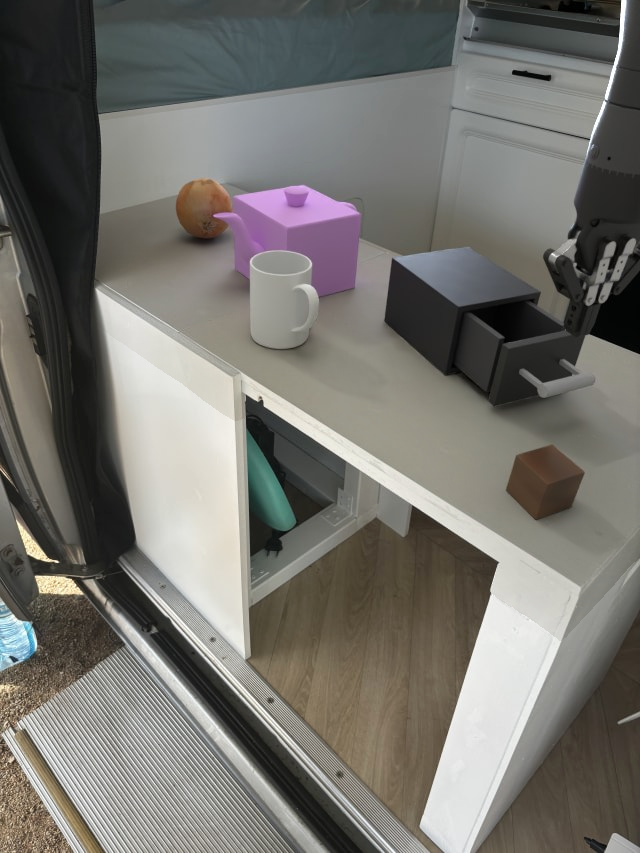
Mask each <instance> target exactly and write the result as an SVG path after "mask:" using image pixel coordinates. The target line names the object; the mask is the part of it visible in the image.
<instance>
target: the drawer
mask: <svg viewBox="0 0 640 853" xmlns="http://www.w3.org/2000/svg"><path fill="white" fill-rule="evenodd" d="M586 336H587V335H585V336H580V337H575V336H573V335H572V334H570V333H569V332H567V331H566V330H565V327H564V321H562V320H560V319H559V318H557V317H555V316H554V315H553V314H551V313H549V312H548V311H546V310H545V309H543V308H542V307H540V306H538V305H535V304H534V303H532V302H531V301H529V300H524V301H518V302H513V303H507V304H502V305H497V306H491V307H486V308H481V309H475V310H470V311H465V312H463V313H462V318H461V323H460V327H459V332H458V337H457V342H456V347H455V352H454V357H453V362H452V363H453V364H454V365H455V366H456V367H458V368H459V369H460V370H461V371H462V373H463V374H465V376H467V377H468V378H469V379H470V380H472V381H473V383H475V384H476V385H477V386H479V387H480V388H481V390H483V391H484V392H485V393H489V397H488V400H487V401H488V403H489V404H490V405H491V406H493V407H499V406H502V405H506V404H509V403H513V402H518V401H521V400H522V401H523V400H525V399H529V398H534V397H536V396H539V397H540V398H543V399H545V398H546V399H547V398H549V397H553V396H558V395H561V394H565V393H569V392H572V391H576V390H580V389H585V388H587V387H592V386H594V385H595V383H596V376H595V374H594V373H593V372H591V371H586V372H585V371H582V370H581V369H579V368H578V367H577V366H576V365H577V361H578V359H579V356H580V353H581V350H582V348H583V344H584V341H585V339H586Z"/></svg>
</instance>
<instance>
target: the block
mask: <svg viewBox="0 0 640 853" xmlns="http://www.w3.org/2000/svg"><path fill="white" fill-rule="evenodd" d="M514 458H515V459H514V461H513V465H512V468H511V471H510V474H509V477H508V480H507V484H506V487H505V491H506V492H507V493H508V494H509V495H510V496H511V497H512V498H513V499H514V500H515V501H516V502H517V503H518V504H519V505H520V506H521V507H522V508H523V509H524V510H525V511H526V512H527V513H528V514H529V515H530V516H531V517H532V518H533V519H534V520H539V519H541V518H545V517H547V516H550V515H554V514H556V513H559V512H562V511H565V510H567V509H570V508H572V507H573V504H574V502H575V499H576V497H577V494H578V492H579V489H580V487H581V484H582V482H583V479H584V476H585V474H586V472H585V471H584V470H583V469H582V468H581V467H580V466H578V465H577V464H576V463H575V462H574V461H573V460H572V459H570V458H569V457H568V456H567V455H566V454H564V453H563V451H561V450H560V449H558V447H556V446H555V444H548V445H545V446H542V447H539V448H535V449H532V450H529V451H525V452H521V453H518V454H516V455H515V457H514Z"/></svg>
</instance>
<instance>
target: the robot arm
mask: <svg viewBox="0 0 640 853" xmlns="http://www.w3.org/2000/svg"><path fill="white" fill-rule="evenodd" d="M618 38H619V40H618V49H617V53H616V57H615V60H614V63H613V67H612V70H611V74H610V78H609V81H608V85H607V89H606V92H605V96H604V100H603V103H602V106H601V109H600V111H599V114H598V116H597V118H596V121H595V123H594V126H593V129H592V132H591V136H590V140H589V143H588V147H587V150H586V154H585V158H584V162H583V165H582V168H581V173H580V177H579V179H578V183H577V187H576V191H575V195H574V199H573V206H574V208H575V211H576V217H575V220H574V222H573V224H572V226H570V228H569V230H568V232H567V240H566V241H565V242H564V243H563V244H562V245H560V246H559V248H557V249H556V250H555V249H554V248H551V247H550V248H547V249H546V250H545V251H544V252H543V255H542V259H543V261H544V264H545V267H546V268H547V271H548V273H549V275H550V278H551V280H552V283H553V286H554V287H555V289H556V291H557V293H559V294H561V295H562V296H564V297H565V298H567V299H568V300H570V301H569V305H568V308H567V311H566V316H565V318H564V321H563V323H564V327H565V330H566V331H567V332H569V333H570V334H572V335H573V336H575V337H580V336H585V335H586V336H589V335H590V334H591V331H592V329H593V328H594V326H595V323H596V320H597V317H598V314H599V312H600V308H601V305H602V304H604V303H605V302H606V301H607V300H608V298H609V296H610V295H614V296H618V295H621V293H622V292H623V291H624V290H625V288H626V287H627V286H628V285H629V284H630V283H631V281H632V280H634V278H635V277H636V276H637V275H638V273H639V272H640V0H621V8H620V26H619V37H618ZM586 336H585V337H586Z"/></svg>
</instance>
